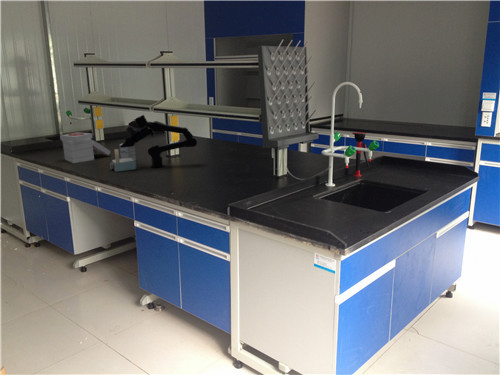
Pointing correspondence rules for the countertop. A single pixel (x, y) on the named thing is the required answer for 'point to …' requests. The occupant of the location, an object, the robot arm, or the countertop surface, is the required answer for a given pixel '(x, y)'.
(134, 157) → the supplement box
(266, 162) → the countertop surface
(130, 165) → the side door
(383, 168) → the countertop surface
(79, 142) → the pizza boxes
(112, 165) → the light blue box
